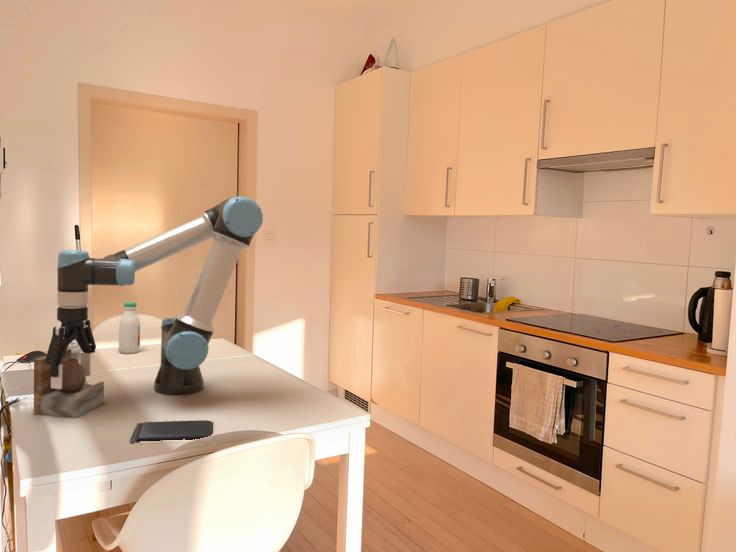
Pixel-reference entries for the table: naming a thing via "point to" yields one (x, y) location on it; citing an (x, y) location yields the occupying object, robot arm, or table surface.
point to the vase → (73, 376)
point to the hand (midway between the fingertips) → (71, 381)
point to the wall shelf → (62, 393)
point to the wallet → (171, 430)
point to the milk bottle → (129, 330)
